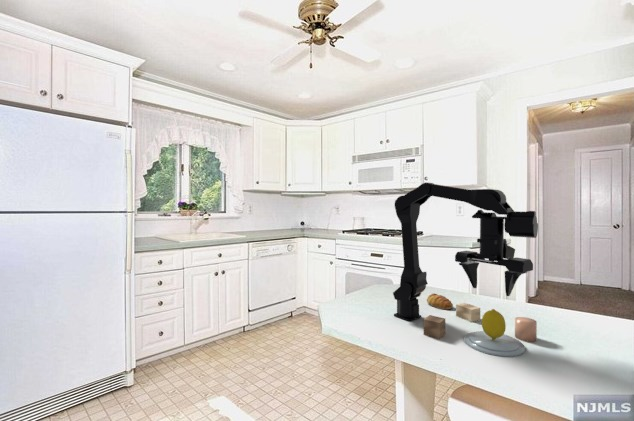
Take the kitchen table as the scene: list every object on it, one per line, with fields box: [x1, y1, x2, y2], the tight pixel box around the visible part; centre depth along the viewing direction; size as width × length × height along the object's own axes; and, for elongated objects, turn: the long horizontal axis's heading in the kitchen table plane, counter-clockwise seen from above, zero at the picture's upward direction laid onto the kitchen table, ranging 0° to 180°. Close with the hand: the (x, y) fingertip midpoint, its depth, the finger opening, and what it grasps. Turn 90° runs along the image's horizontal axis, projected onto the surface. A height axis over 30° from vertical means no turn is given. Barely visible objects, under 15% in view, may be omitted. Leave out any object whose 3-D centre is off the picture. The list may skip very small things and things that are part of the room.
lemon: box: [481, 308, 507, 340], centre depth 86 cm, size 6×6×8 cm
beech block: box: [455, 302, 481, 323], centre depth 106 cm, size 6×4×4 cm, turn 24°
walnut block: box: [423, 314, 446, 340], centre depth 93 cm, size 4×4×4 cm
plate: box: [463, 330, 526, 358], centre depth 86 cm, size 14×14×1 cm
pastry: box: [426, 292, 454, 310], centre depth 118 cm, size 9×7×4 cm
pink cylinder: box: [514, 316, 538, 343], centre depth 90 cm, size 5×5×5 cm
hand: (490, 291), depth 90 cm, fingers open, 9 cm apart
